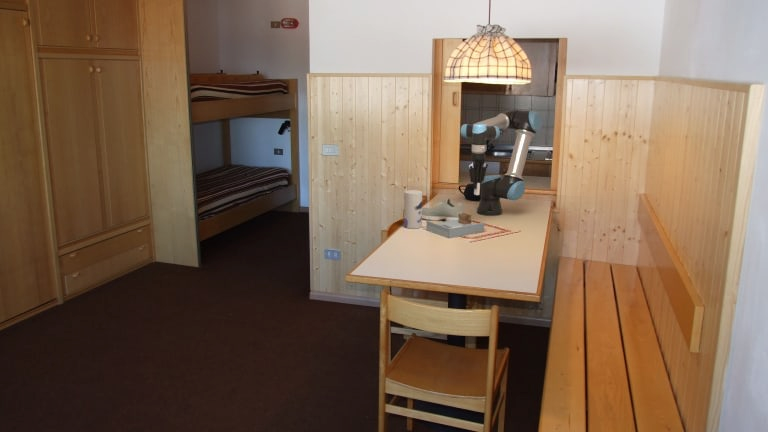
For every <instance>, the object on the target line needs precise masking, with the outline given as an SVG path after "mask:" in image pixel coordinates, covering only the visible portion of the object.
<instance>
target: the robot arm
mask: <svg viewBox="0 0 768 432" xmlns="http://www.w3.org/2000/svg"><path fill="white" fill-rule="evenodd" d="M542 127H543V120H542V115H541V114H540V113H539V112H538V111H534V110H523V109H522V110H520V109H514V110H508V111H504V112H502V113H499V114H497V115H496V116H495V117H491V118H488V119H484V120H481V121H478V122H474V123H471V124H470V123H464V124H462V125H461V127H460V134H461V135H460V136H462V137H463V138H466V139H471V157H470V158H471V162H470V164H469V165H467V168H468V171H469V176H470V177H469V180H470V182H471V183H474V194H475V195H479V193H480V188H481V199H480V201H479V203H478V207H477V208H476V213H477V214H479V215H484V216H500V215H502V214H503V208H502V204H501V201H500V200H501V199H505V200H509V201H518V200H520V199H521V198H522V197H523V195H524V193H525V189H526V185H525V182H524V179H523V171H524V168H525V164H526V159H527V157H528V153H529V148H530V145H531V141H532V138H533V137H535V136H536V133H538V132H539V131H540V130H542ZM507 129H508V130H515V132H516V138H515V142H514V145H513V149H512V153H511V157H510V159H509V160H510V161H509V164H508V168H507V172H506V173H505V174H503V175H501V174H490V175H489V174H488V175H486V172H487V168H488V167H489V164H487V163H486V162H485V159H486V153H485V152H486V150H487V149H486V148H487V147H486V144H487V141H493V140H496V139H498V138H499V136H500V135H501V131H500V130H507ZM502 176H503V177H502ZM480 186H481V187H480Z"/></svg>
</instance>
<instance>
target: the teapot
mask: <svg viewBox="0 0 768 432" xmlns="http://www.w3.org/2000/svg"><path fill="white" fill-rule="evenodd" d="M480 187H481V186H480ZM461 188H464V190H463V191H462V189H461ZM458 191H459V192H460V194H462V195H463V196H464V198H465V199H466V200H469V201H479V202H480V199H481V188H480V193H479V195H475V194H474V183H473V182H471V183H467V184H466V185H461V184H460V185H459V186H458Z"/></svg>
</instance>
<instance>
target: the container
mask: <svg viewBox="0 0 768 432" xmlns="http://www.w3.org/2000/svg"><path fill="white" fill-rule="evenodd" d="M403 195H404V197H403V201H404V203H403V227H404V228H406V229H420V228H422V227H423V224H422V223H423V219H422V208H423V191H421V190H418V189H407V190H404V194H403Z"/></svg>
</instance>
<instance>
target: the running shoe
mask: <svg viewBox="0 0 768 432" xmlns="http://www.w3.org/2000/svg"><path fill="white" fill-rule="evenodd" d="M462 213H465V211H464V205H463V203H462V202H460V201H459V202H458V203H457V204H454V203H453V202H452V201H451V199H450V198H448V197H447V198H445V199H444V200H443V201H442V200H441V201H440V202H439V203H438V204H435V205H433V206H432V207H422V220H426V221H430V222H439V221H443V222H446V221H452V220H458V218H459V214H462Z"/></svg>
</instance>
